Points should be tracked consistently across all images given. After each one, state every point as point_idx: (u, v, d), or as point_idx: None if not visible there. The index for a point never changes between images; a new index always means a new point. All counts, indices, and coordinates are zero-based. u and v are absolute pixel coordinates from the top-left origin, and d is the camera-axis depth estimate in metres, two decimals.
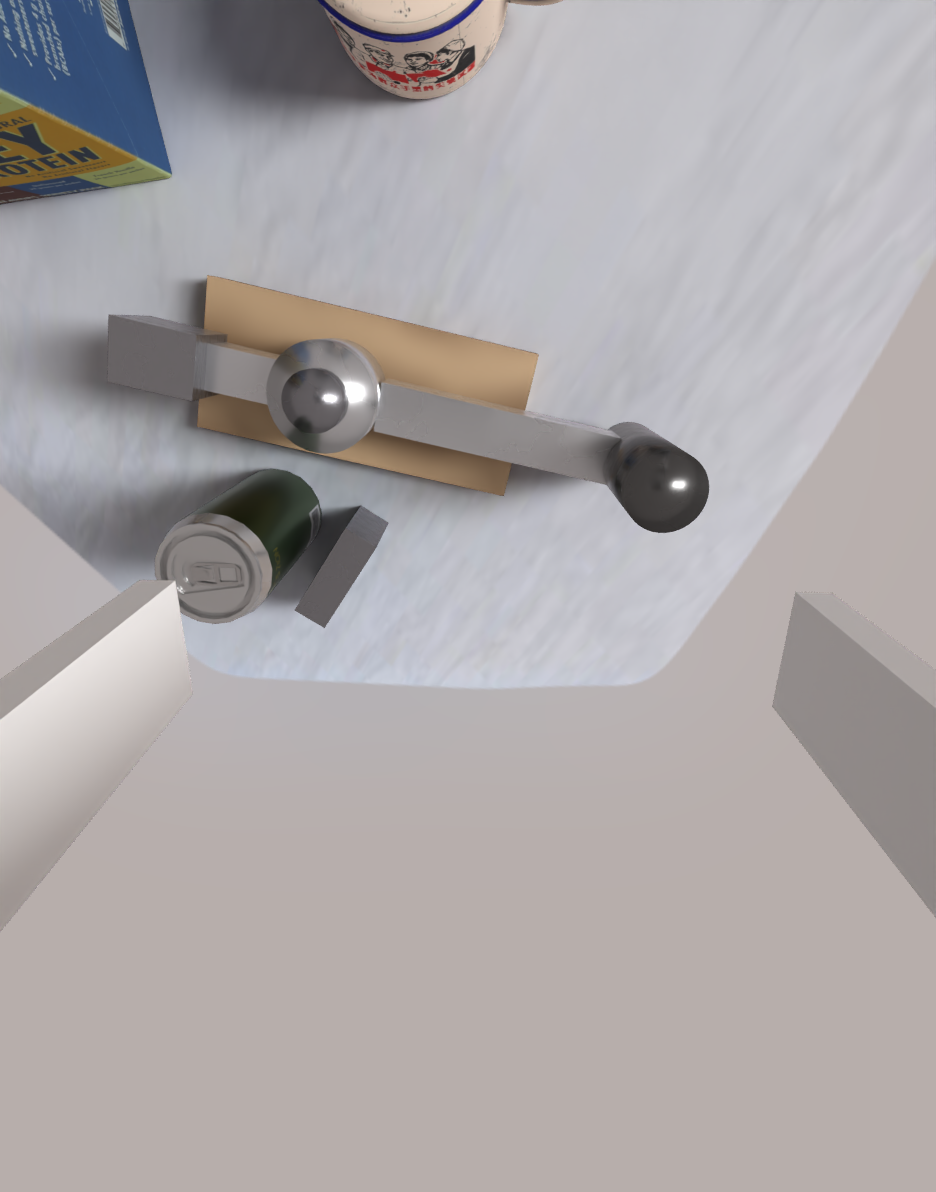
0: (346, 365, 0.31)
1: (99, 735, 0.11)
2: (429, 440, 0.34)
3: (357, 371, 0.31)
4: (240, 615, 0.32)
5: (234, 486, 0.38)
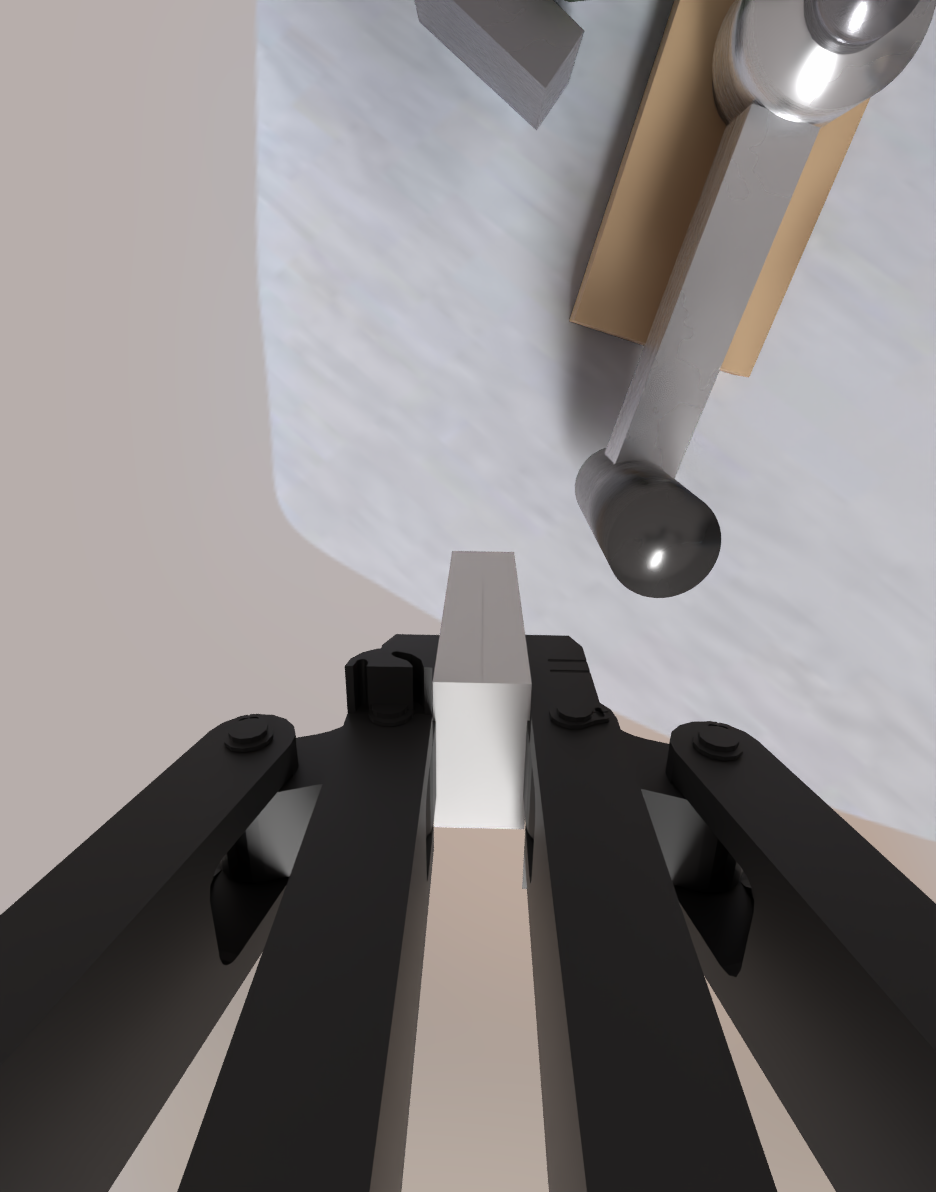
0: (882, 60, 0.20)
1: None
2: (720, 201, 0.23)
3: (869, 80, 0.20)
4: None
5: None
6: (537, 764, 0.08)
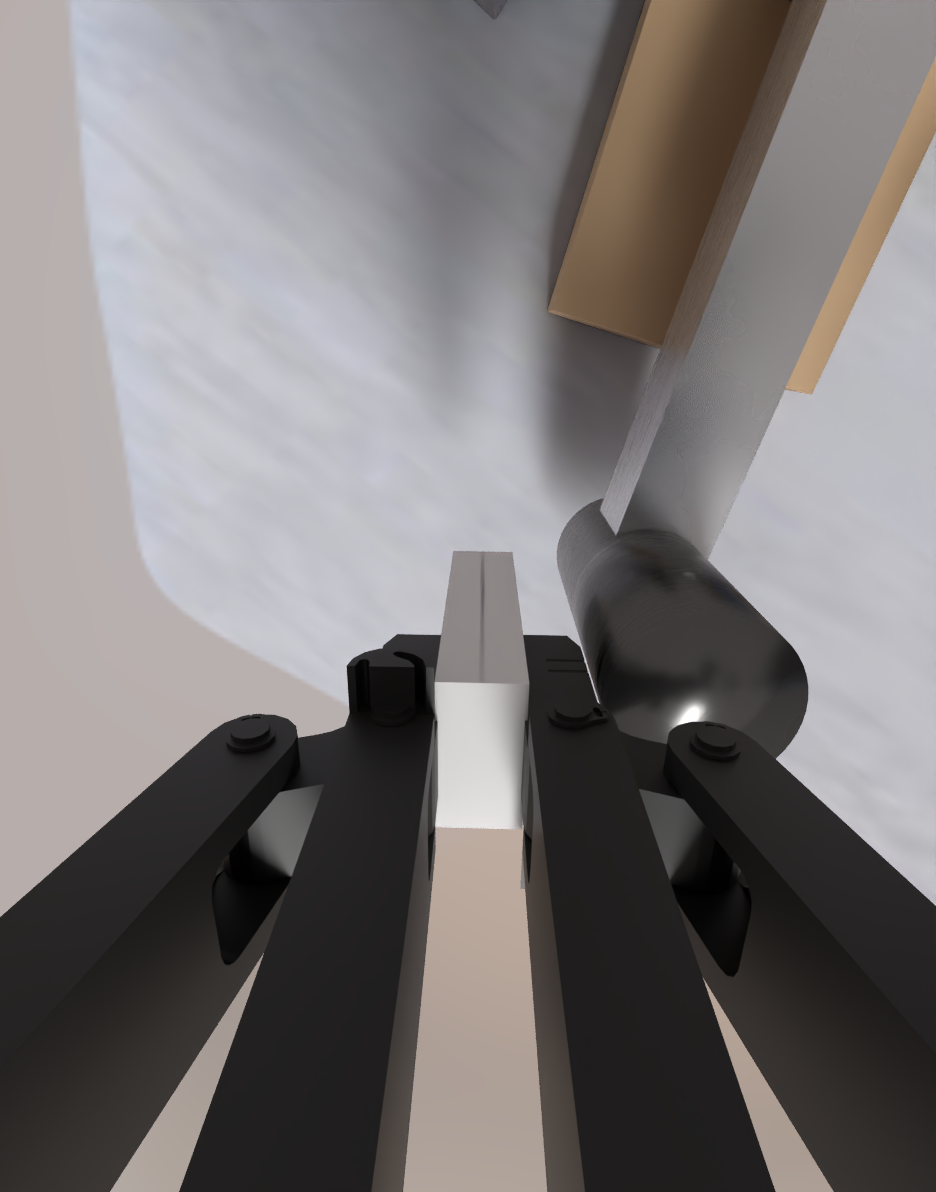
0: None
1: None
2: (795, 102, 0.13)
3: None
4: None
5: None
6: (535, 764, 0.08)
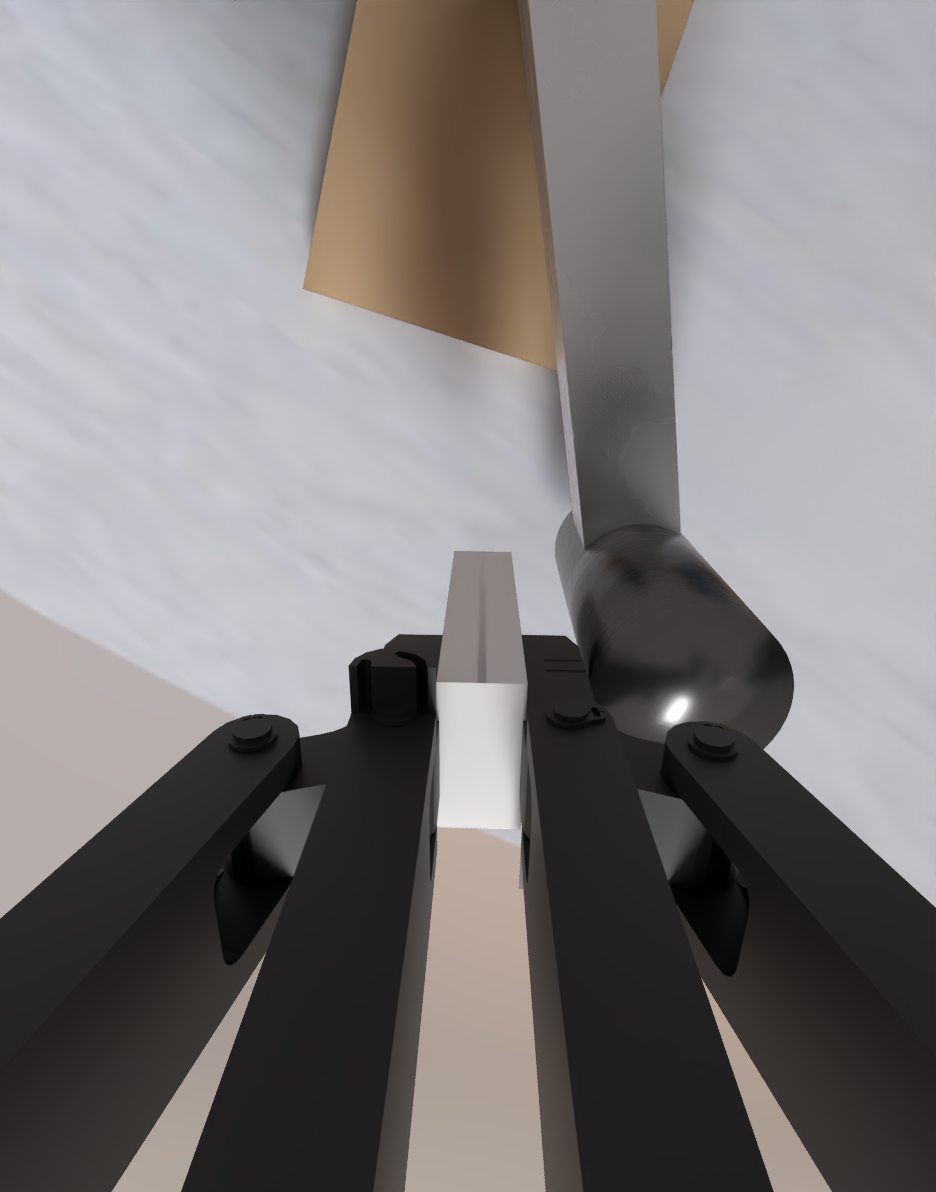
0: None
1: None
2: (548, 113, 0.14)
3: None
4: None
5: None
6: (533, 764, 0.08)
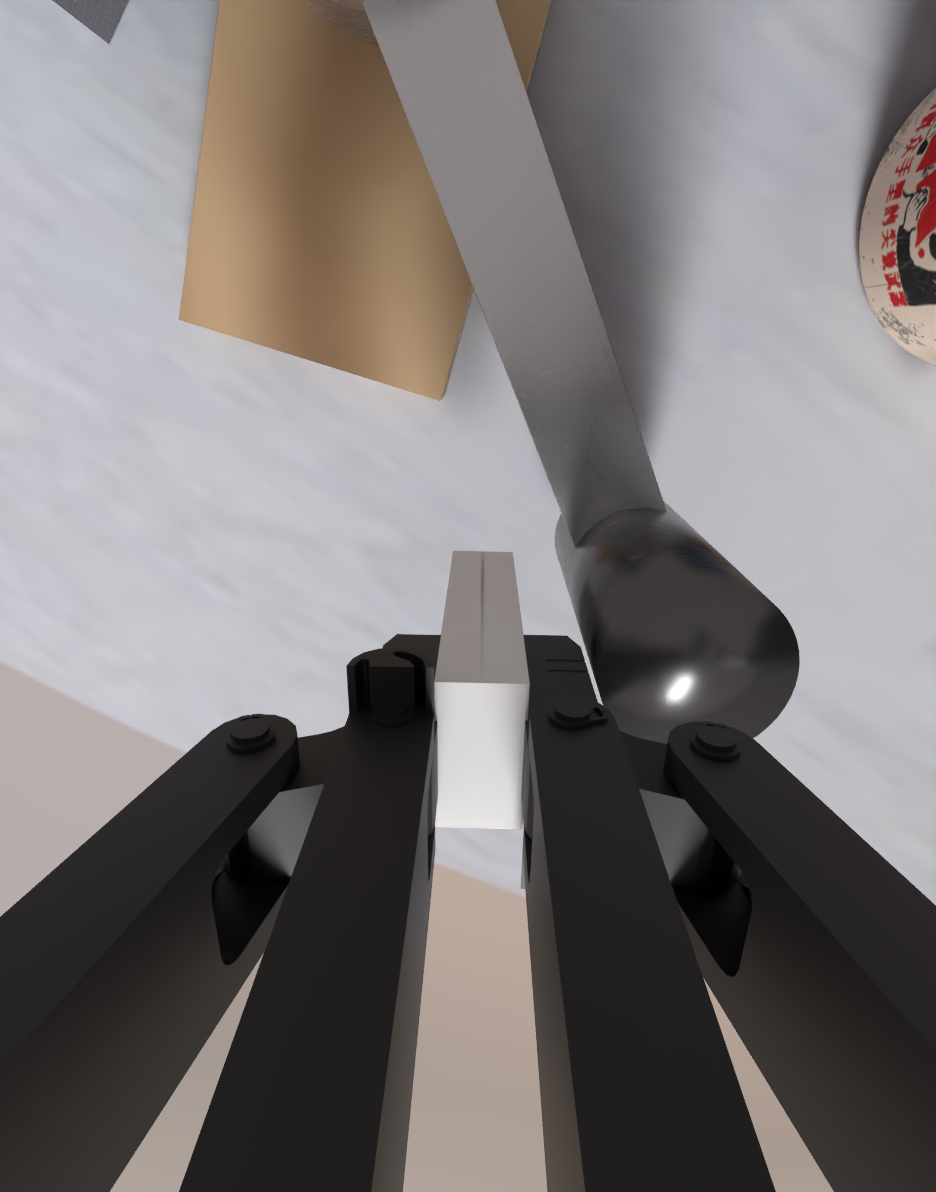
0: None
1: None
2: (429, 150, 0.14)
3: None
4: None
5: None
6: (535, 764, 0.08)
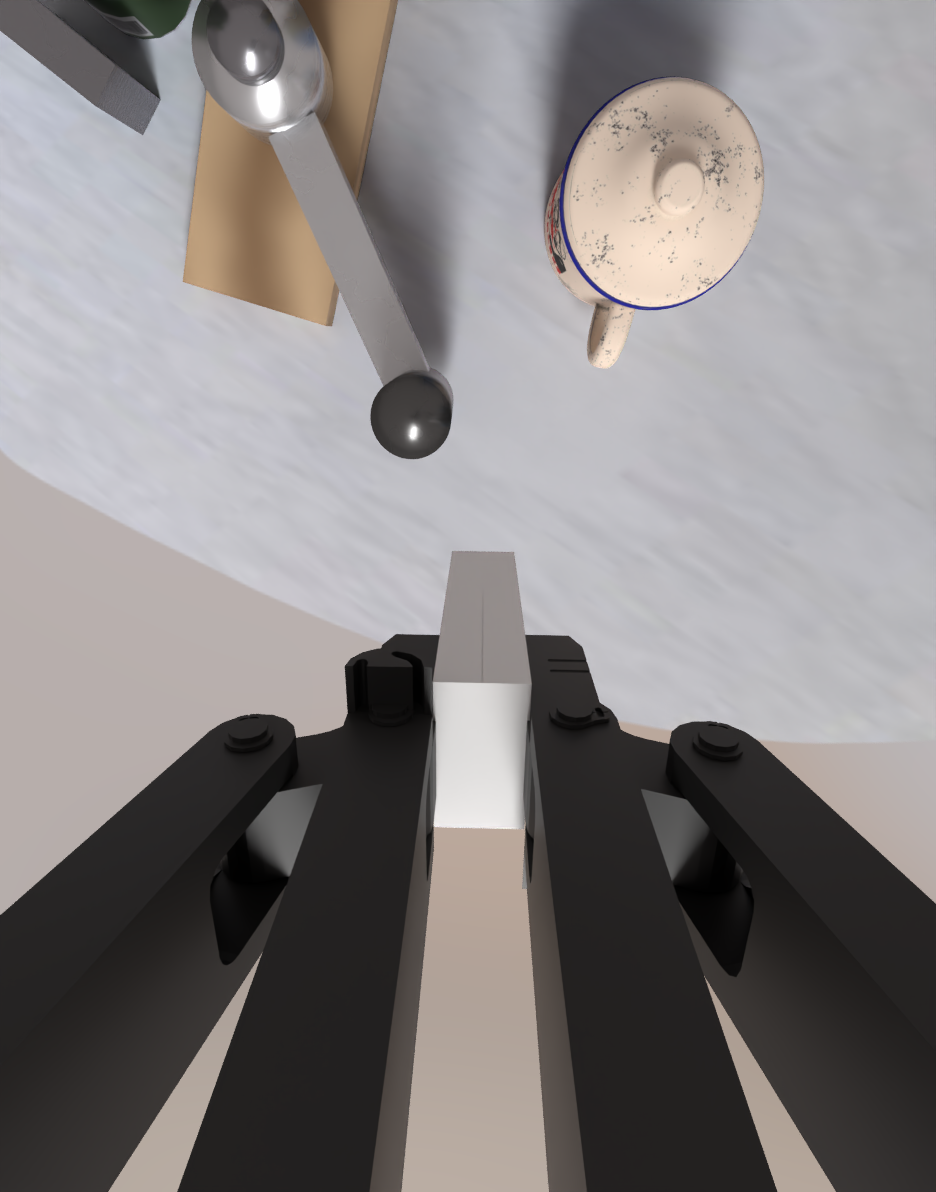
0: (301, 55, 0.28)
1: None
2: (301, 200, 0.31)
3: (304, 71, 0.28)
4: None
5: None
6: (537, 764, 0.08)
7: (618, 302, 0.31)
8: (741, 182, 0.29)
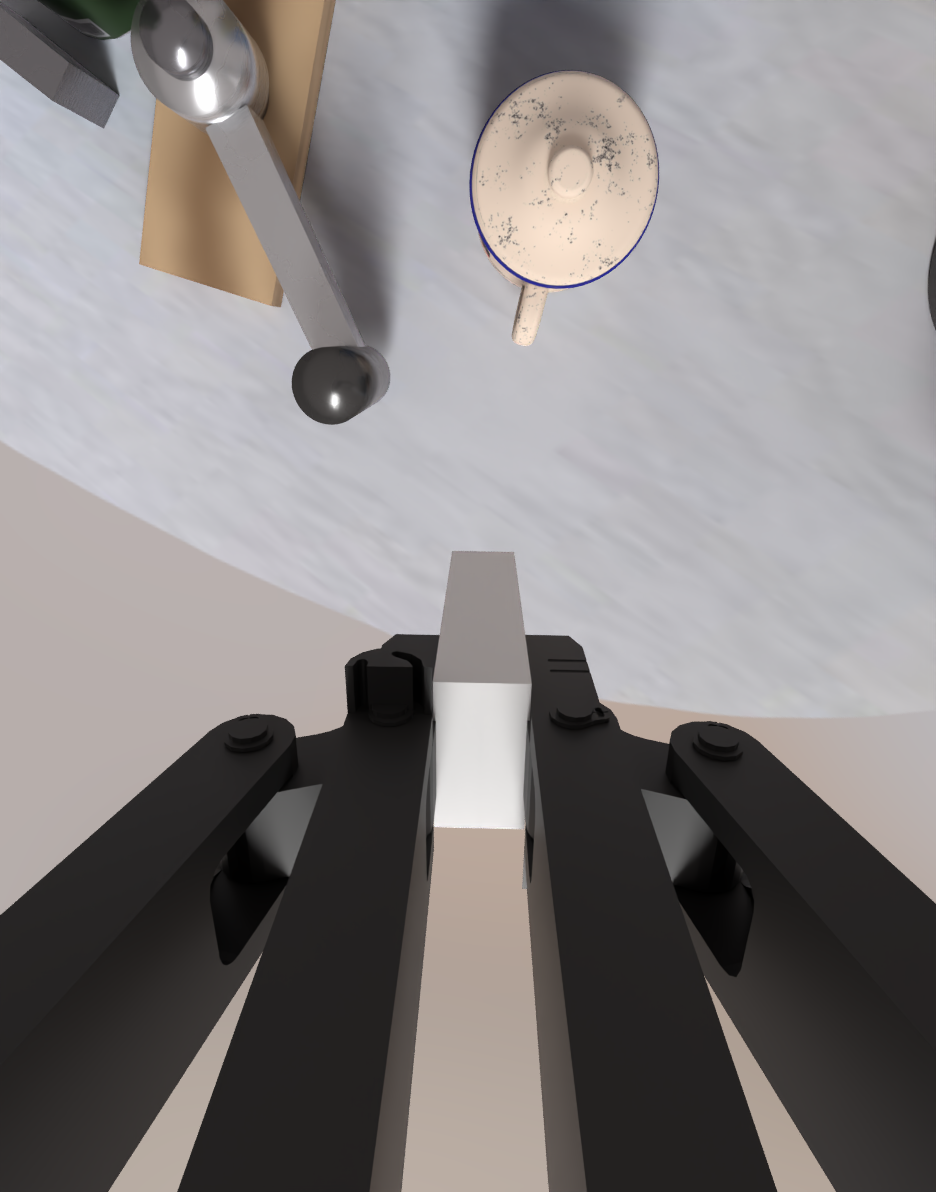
0: (229, 53, 0.31)
1: None
2: (237, 186, 0.34)
3: (232, 67, 0.31)
4: None
5: None
6: (537, 764, 0.08)
7: (527, 281, 0.34)
8: (634, 168, 0.31)
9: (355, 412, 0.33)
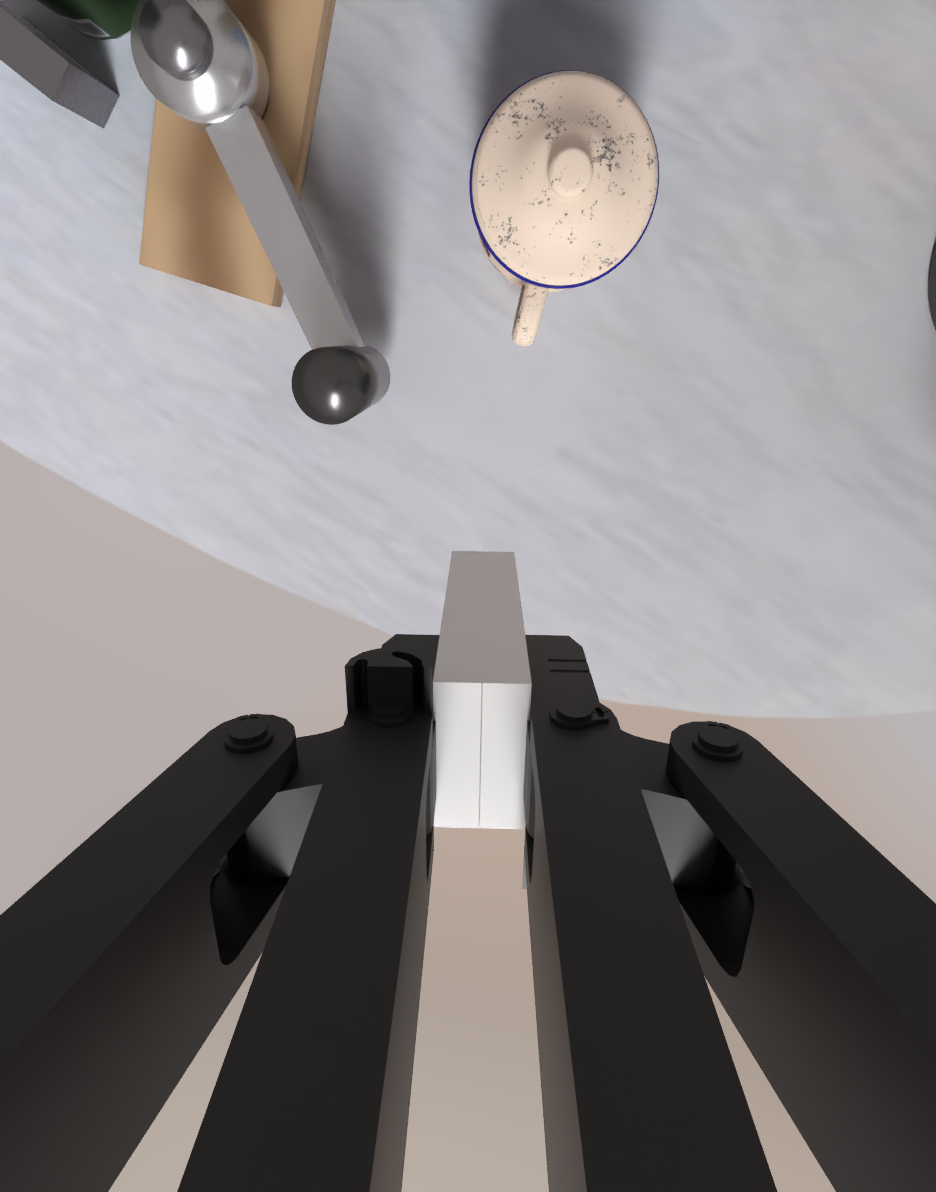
0: (229, 53, 0.31)
1: None
2: (237, 186, 0.34)
3: (232, 67, 0.31)
4: None
5: None
6: (537, 764, 0.08)
7: (527, 281, 0.34)
8: (634, 168, 0.31)
9: (355, 412, 0.33)
